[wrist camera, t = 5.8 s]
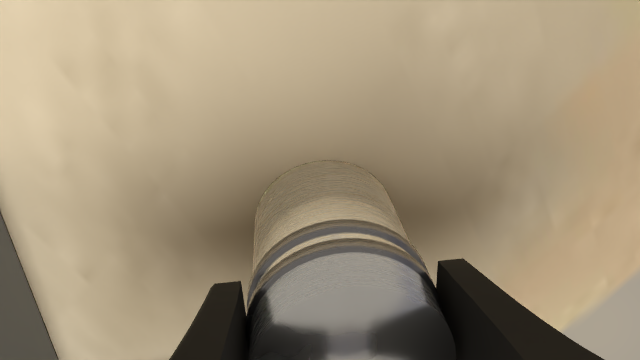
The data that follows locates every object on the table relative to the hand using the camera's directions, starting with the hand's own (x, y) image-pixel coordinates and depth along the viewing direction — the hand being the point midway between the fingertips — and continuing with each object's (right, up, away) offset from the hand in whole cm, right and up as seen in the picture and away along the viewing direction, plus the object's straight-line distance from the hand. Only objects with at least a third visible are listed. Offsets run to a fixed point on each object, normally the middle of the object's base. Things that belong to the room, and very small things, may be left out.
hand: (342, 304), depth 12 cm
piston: (0, +2, +4) cm, 4 cm away
